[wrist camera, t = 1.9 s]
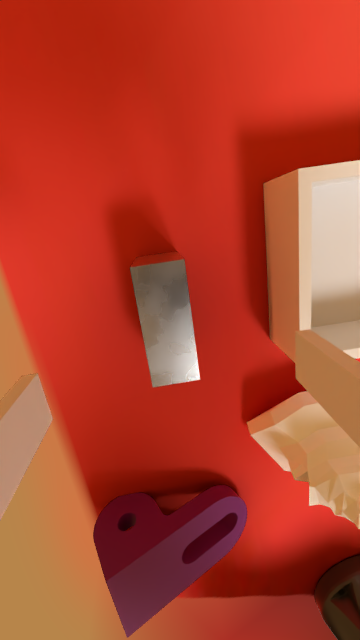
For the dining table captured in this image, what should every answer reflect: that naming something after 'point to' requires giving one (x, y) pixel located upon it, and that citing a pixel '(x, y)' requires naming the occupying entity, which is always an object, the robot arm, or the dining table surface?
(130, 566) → the mounting bracket
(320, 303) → the cream rectangular tray
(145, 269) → the brushed metal block
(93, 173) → the dining table surface
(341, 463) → the cream faceted chunk
